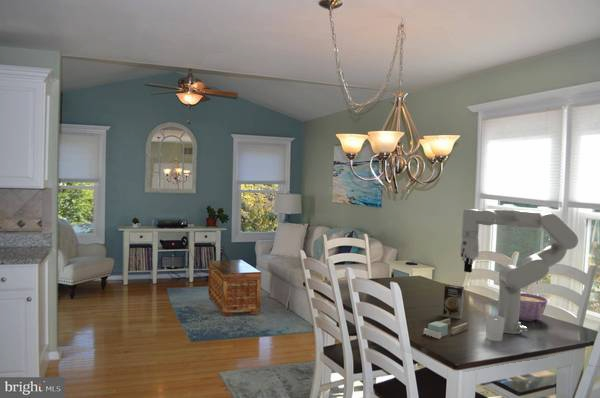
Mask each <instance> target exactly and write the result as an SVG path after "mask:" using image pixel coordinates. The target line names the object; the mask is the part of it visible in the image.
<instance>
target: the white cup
mask: <svg viewBox="0 0 600 398" xmlns="http://www.w3.org/2000/svg"><path fill="white" fill-rule="evenodd" d="M485 317H486V318H485V319H486V320H485V335H486V337H485V338H486V340H489V341H491V342H501V341H503V338H504V337H503V335H504V333H503V330H504V322H505V318H503V317H501V316H498V315H493V314H489V315H488V314H487V315H486V316H485Z"/></svg>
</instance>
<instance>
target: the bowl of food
mask: <svg viewBox="0 0 600 398" xmlns="http://www.w3.org/2000/svg"><path fill="white" fill-rule="evenodd" d="M547 304H548V299H547V298H546V297H544V296H541V295H538V294H532V293H523V292H521V297H520V311H519V321H520V320H521V321H526V322H533V321H534V320H537V319H540V318H541V317H542V316H543V314H544V312H545V310H546V307H547Z"/></svg>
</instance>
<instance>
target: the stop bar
mask: <svg viewBox="0 0 600 398" xmlns="http://www.w3.org/2000/svg"><path fill="white" fill-rule="evenodd" d="M424 334H426V335H425V336H428V335H429V337H431V336H432V337H433V338H435V339H441V338H442V337H441V332H437V331H433V330H430V329H428V328H426V327H425V328H423V335H424Z"/></svg>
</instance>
